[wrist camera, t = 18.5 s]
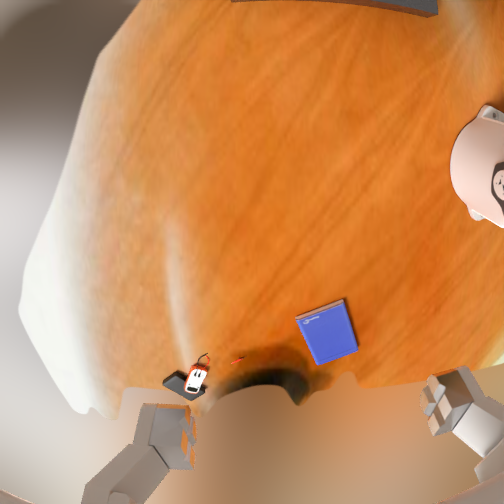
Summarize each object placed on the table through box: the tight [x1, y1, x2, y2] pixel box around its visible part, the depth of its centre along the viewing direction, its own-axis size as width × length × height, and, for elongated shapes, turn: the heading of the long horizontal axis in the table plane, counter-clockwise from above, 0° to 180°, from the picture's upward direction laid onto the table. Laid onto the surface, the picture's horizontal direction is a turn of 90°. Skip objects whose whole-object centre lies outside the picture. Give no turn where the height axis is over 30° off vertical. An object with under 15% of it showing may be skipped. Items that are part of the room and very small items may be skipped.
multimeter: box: [163, 353, 245, 401], centre depth 56 cm, size 18×12×3 cm, turn 130°
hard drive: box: [295, 299, 358, 365], centre depth 53 cm, size 2×8×12 cm
